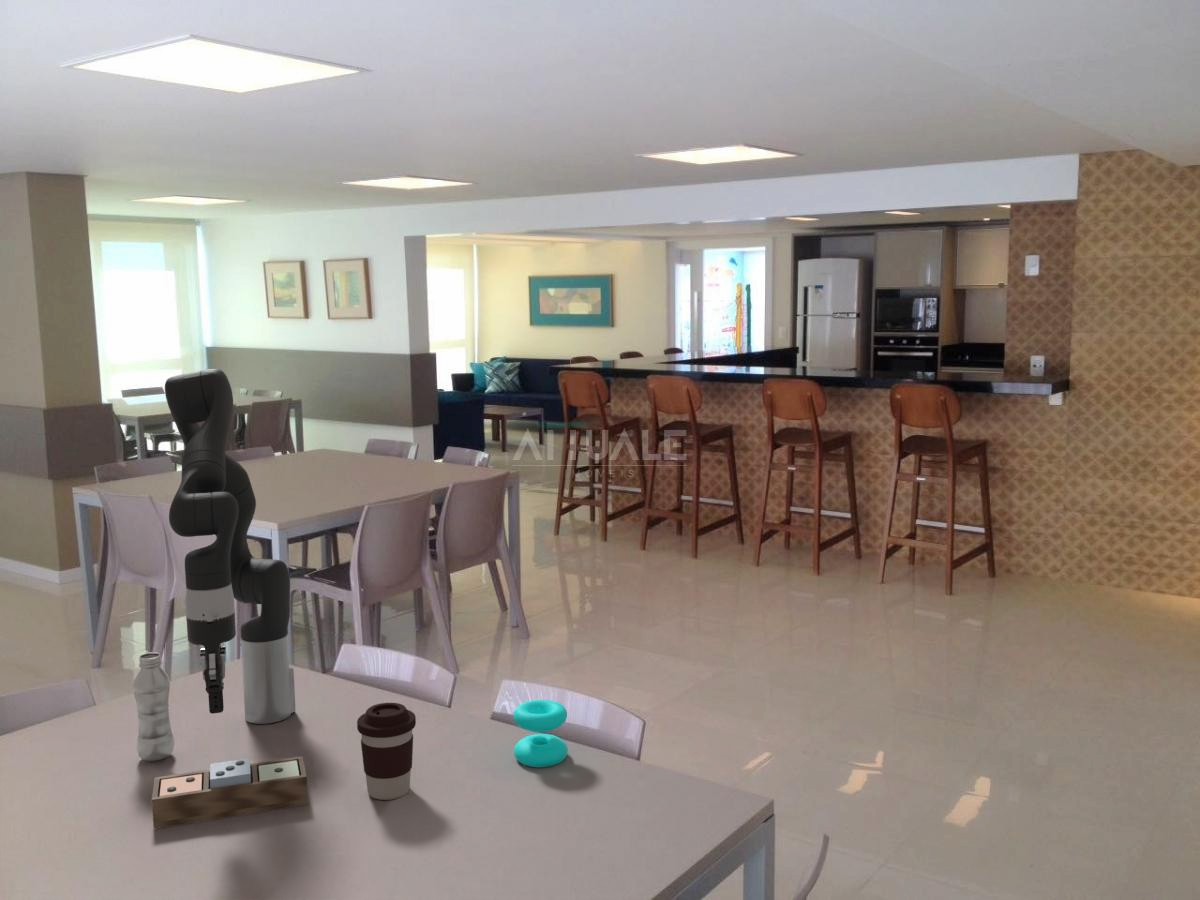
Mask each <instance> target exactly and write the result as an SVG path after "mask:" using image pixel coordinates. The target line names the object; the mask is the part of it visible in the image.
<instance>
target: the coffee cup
mask: <svg viewBox="0 0 1200 900" xmlns="http://www.w3.org/2000/svg"><path fill="white" fill-rule="evenodd" d="M416 722H417V721H416V714H415V713H414V712H413V711H412V710H409V709H407V708H406V706H405V705H403V704H401V703H397V702H382V703H376V704H373V705H371V706H370V707H368V708H367V709H366V711H365V712H364V713H363V714H361V715H360V716H359V717H358V718H357V721H356V727H357V731H358V733H359V734H361V739H360V745H361V746H360V747H361V755H362V763H363V772H364V773H365V778H366V779H365V780H366V781H365V782H366V788H367V793H368V795H369V797H371V798H373V799H376V800H381V801H390V800H396V799H399V798H401V797H403V796H405V795H406V794H408V792H409V791H410V789H411V771H412V770H411V769H413V754H414V752H413V750H414V749H413V748H414V734H413V730H414V729H415V727H416V724H417V723H416Z"/></svg>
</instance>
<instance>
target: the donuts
mask: <svg viewBox="0 0 1200 900" xmlns="http://www.w3.org/2000/svg"><path fill="white" fill-rule="evenodd" d="M567 718H568V711H567V709H566V707H565V706H564V705H563V704H561V703H559V702H558V701H556V700H555V701H554V700H550V699H534V700H533V699H532V700H529V701H525V702H522V703H520V704H519V705H517V707H516V708H515V709H514V712H513V720H514V722H515V724H516V725H517V726H518V727H519V728H521V729H523V730H525V731H527V732H533V733H537V734H530V735H527V736H525V737H522V738H521V739H519V741H518V742H517V743H516V744H515V746H514V750H513V753H514V754H513V755H514V757H515V759H516V760H517V761H518V762H519V763H520V764H522V765H523V766H527V767H533V768H546V767H547V768H548V767H552V766H556V765H558V764H560V763H561V762H562V761H565V758H567V755H568V750H569V749H568V746H567V744H566V743H565V741H564V740H563V739H562V738H560V737H558V736H556V735H553V734H550V733H549V734H548V733H546V732H551V731H554V730H557V729H558V728H560V727H561V726H563V725H564V724H565V722H566V721H567Z"/></svg>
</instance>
